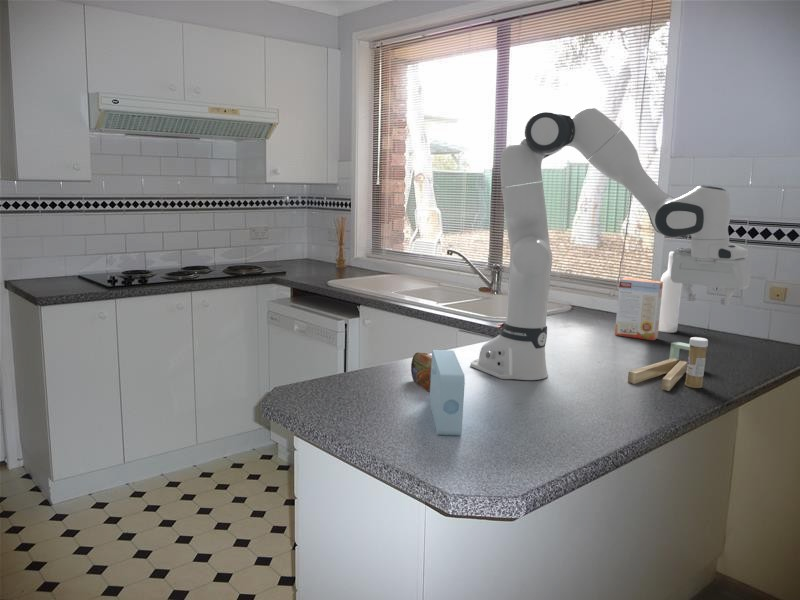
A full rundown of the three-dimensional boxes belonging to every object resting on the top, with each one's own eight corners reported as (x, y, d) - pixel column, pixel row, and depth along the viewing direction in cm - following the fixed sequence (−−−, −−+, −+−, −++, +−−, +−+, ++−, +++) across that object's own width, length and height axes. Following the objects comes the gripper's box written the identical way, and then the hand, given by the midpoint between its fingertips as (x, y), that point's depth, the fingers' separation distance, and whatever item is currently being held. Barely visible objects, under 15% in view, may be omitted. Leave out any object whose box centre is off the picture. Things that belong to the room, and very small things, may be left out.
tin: (409, 379, 185) (410, 348, 183) (420, 378, 186) (421, 348, 185) (434, 396, 171) (435, 363, 170) (445, 395, 172) (447, 362, 171)
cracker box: (657, 338, 248) (664, 281, 245) (654, 341, 243) (660, 282, 240) (618, 332, 256) (624, 276, 252) (614, 335, 250) (619, 278, 247)
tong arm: (661, 389, 185) (662, 378, 184) (678, 370, 205) (680, 360, 205) (669, 390, 184) (670, 380, 183) (686, 371, 204) (687, 361, 204)
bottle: (656, 331, 260) (664, 252, 255) (653, 327, 267) (661, 250, 262) (678, 333, 258) (687, 253, 253) (675, 329, 266) (684, 251, 261)
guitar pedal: (426, 401, 167) (428, 348, 165) (449, 402, 167) (453, 349, 165) (433, 437, 144) (436, 375, 142) (461, 437, 144) (465, 376, 142)
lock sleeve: (668, 365, 210) (671, 343, 209) (674, 363, 213) (677, 341, 212) (696, 372, 204) (698, 349, 203) (701, 369, 207) (704, 347, 206)
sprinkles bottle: (681, 383, 191) (686, 336, 189) (697, 383, 192) (702, 336, 189) (689, 388, 187) (695, 340, 184) (705, 388, 187) (711, 340, 185)
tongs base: (627, 382, 190) (628, 371, 190) (673, 367, 209) (674, 357, 208) (637, 384, 188) (638, 374, 188) (682, 369, 206) (683, 359, 206)
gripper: (666, 248, 183) (664, 299, 185) (741, 253, 166) (739, 309, 168) (680, 246, 186) (678, 297, 189) (755, 250, 170) (752, 306, 172)
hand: (707, 303), depth 178 cm, fingers open, 8 cm apart
